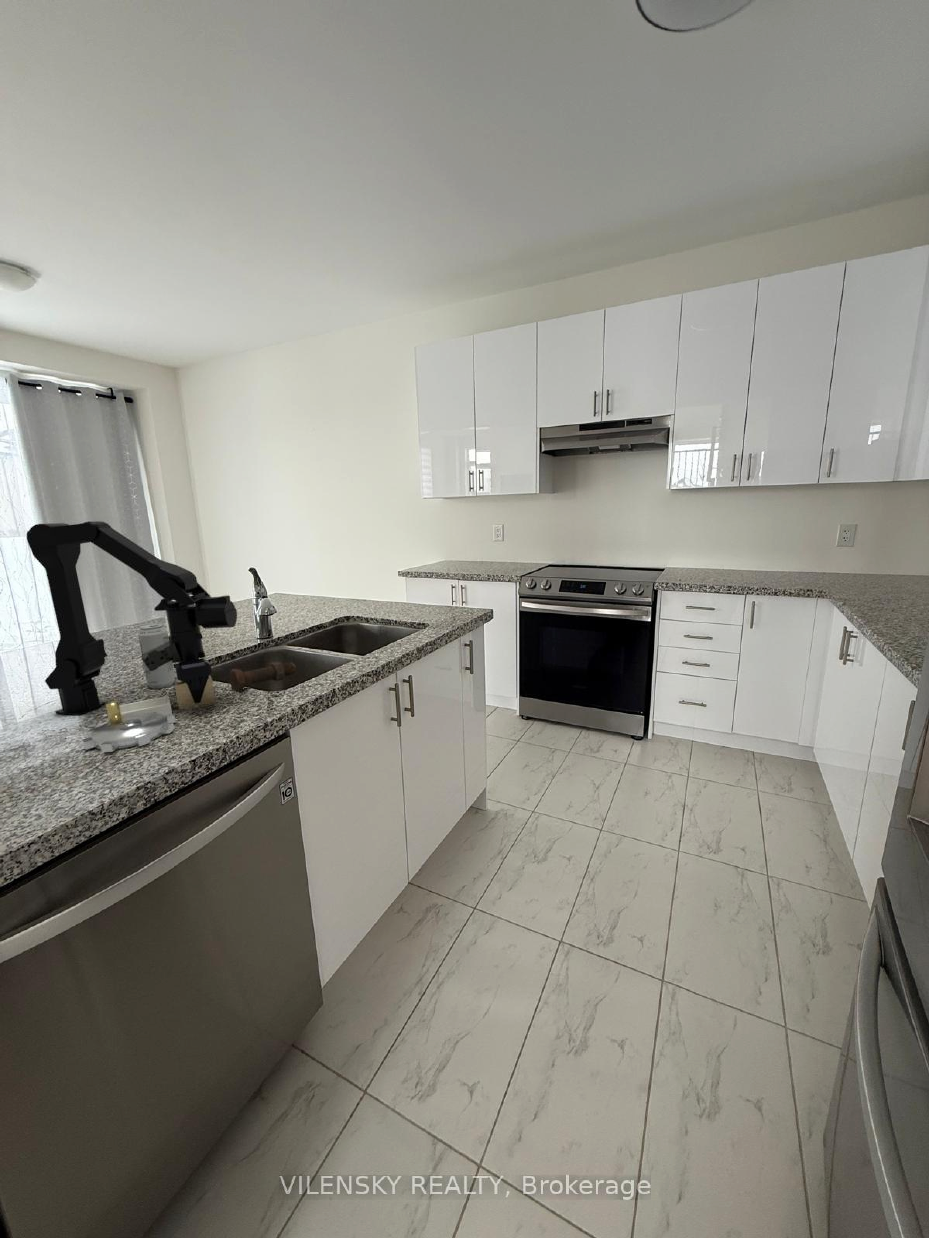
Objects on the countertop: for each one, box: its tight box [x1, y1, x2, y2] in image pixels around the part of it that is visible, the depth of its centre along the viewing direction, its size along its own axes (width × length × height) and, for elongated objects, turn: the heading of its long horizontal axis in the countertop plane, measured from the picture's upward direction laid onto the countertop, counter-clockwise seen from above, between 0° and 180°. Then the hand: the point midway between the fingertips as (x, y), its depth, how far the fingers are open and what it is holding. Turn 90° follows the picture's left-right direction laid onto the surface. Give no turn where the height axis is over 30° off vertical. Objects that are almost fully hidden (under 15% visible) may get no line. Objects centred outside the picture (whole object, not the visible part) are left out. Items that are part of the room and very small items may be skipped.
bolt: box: [228, 661, 297, 693], centre depth 122 cm, size 6×5×15 cm
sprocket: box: [81, 700, 176, 753], centre depth 93 cm, size 15×15×6 cm
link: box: [173, 674, 216, 711], centre depth 109 cm, size 7×4×6 cm, turn 124°
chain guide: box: [119, 695, 173, 717], centre depth 104 cm, size 10×6×2 cm, turn 124°
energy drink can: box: [137, 623, 176, 690], centre depth 121 cm, size 6×6×15 cm
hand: (196, 698), depth 109 cm, fingers open, 6 cm apart
